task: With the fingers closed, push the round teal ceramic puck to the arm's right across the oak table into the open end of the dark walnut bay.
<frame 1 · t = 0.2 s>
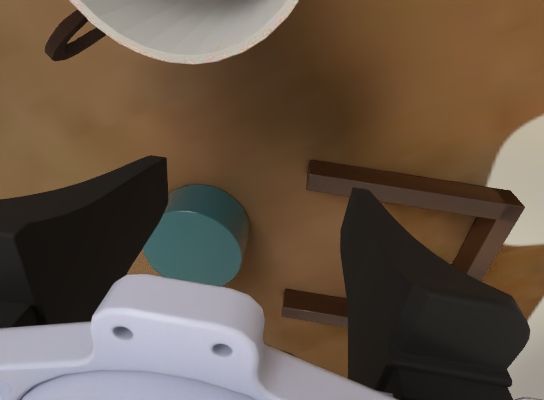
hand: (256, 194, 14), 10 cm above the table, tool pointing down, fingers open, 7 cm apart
teal puck: (204, 223, 28), on the table
walnut bay: (373, 250, 27), on the table
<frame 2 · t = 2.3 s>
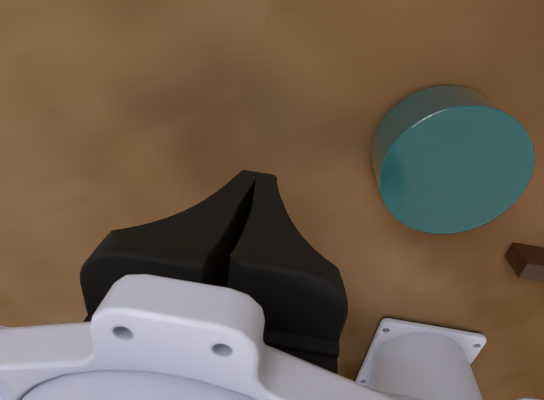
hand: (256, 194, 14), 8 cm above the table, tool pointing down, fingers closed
teal puck: (434, 147, 20), on the table
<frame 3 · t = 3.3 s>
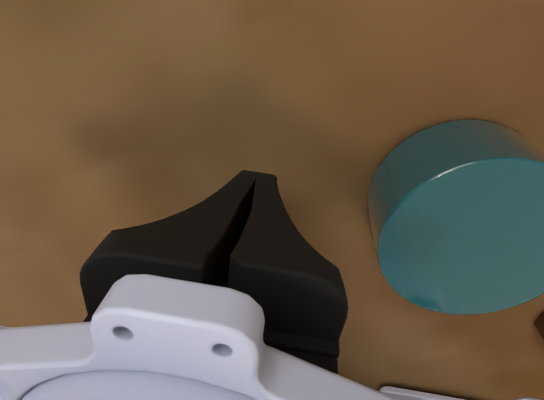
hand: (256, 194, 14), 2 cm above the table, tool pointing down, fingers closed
teal puck: (449, 196, 16), on the table
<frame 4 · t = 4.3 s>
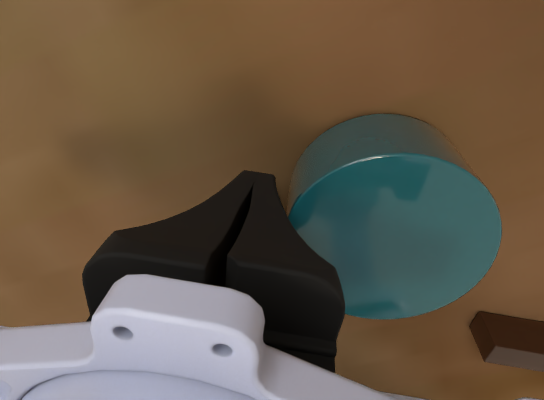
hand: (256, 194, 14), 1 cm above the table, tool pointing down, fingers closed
teal puck: (373, 195, 15), on the table, touching gripper
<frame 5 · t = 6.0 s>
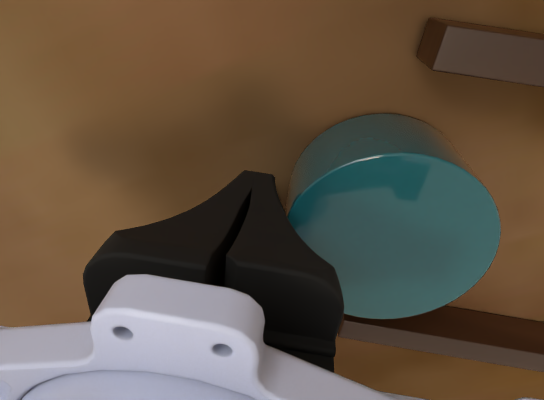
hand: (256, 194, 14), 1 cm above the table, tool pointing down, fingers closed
teal puck: (372, 195, 15), on the table, touching gripper
walnut bay: (516, 218, 15), on the table
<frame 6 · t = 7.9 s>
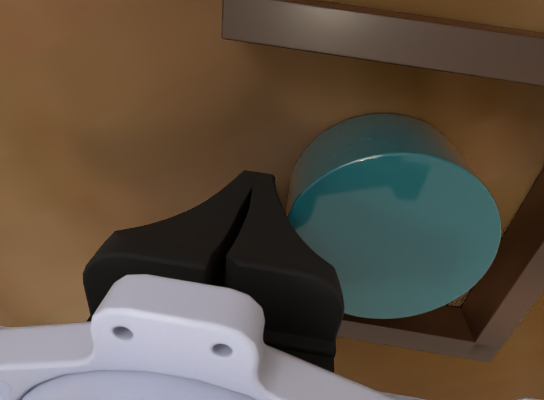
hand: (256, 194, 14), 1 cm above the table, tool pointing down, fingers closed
teal puck: (373, 194, 15), on the table, touching gripper
walnut bay: (368, 194, 15), on the table
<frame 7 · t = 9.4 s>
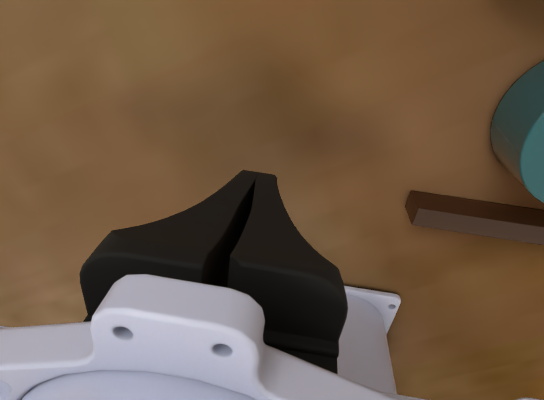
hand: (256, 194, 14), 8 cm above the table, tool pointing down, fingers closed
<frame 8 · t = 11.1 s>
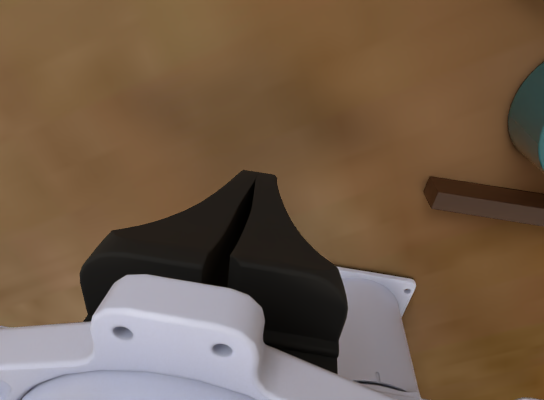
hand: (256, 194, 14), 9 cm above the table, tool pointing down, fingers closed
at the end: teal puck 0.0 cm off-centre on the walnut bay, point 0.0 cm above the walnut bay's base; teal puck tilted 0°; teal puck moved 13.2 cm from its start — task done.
